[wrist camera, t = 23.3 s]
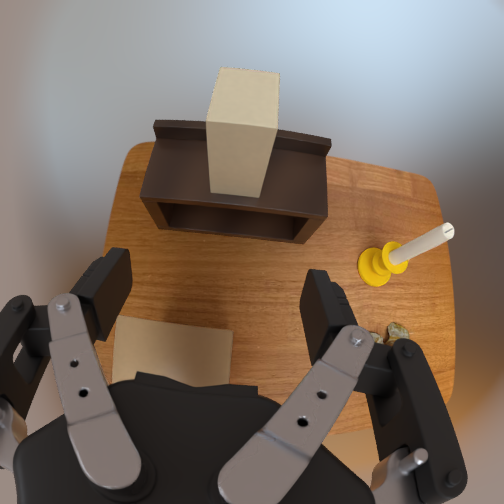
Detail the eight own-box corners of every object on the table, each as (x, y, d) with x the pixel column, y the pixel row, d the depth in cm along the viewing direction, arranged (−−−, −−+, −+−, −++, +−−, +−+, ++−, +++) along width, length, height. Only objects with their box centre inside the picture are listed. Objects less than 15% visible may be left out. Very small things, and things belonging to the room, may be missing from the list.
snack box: (210, 192, 26) (205, 120, 16) (219, 142, 27) (220, 66, 18) (259, 198, 26) (277, 128, 16) (263, 147, 27) (280, 73, 18)
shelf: (158, 228, 33) (133, 186, 23) (170, 173, 36) (155, 119, 25) (303, 244, 35) (335, 208, 24) (304, 187, 37) (331, 138, 26)
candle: (369, 294, 34) (452, 267, 19) (350, 259, 35) (423, 213, 20) (396, 274, 35) (477, 240, 20) (377, 241, 36) (450, 193, 21)
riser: (155, 387, 28) (111, 422, 15) (160, 321, 31) (116, 314, 17) (224, 396, 29) (224, 442, 15) (229, 329, 31) (233, 330, 18)
